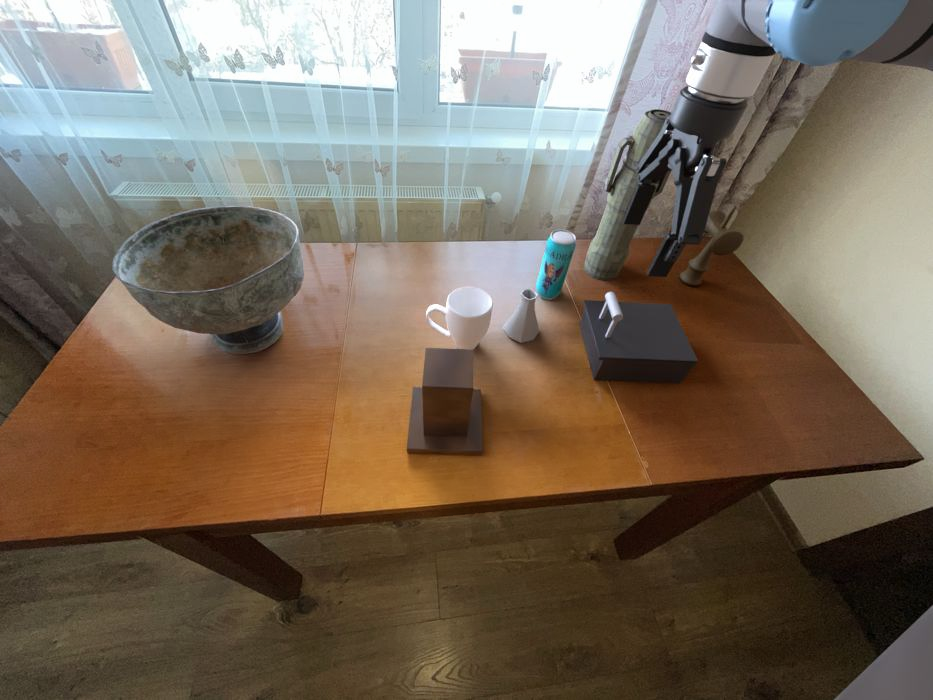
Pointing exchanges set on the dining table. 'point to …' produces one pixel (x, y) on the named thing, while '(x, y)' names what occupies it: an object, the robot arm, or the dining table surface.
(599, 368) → the open box
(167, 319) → the decorative bowl
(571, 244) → the beverage can
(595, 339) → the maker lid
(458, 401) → the stand
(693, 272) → the kendama
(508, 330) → the flask
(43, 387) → the dining table surface
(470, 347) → the mug
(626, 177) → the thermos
